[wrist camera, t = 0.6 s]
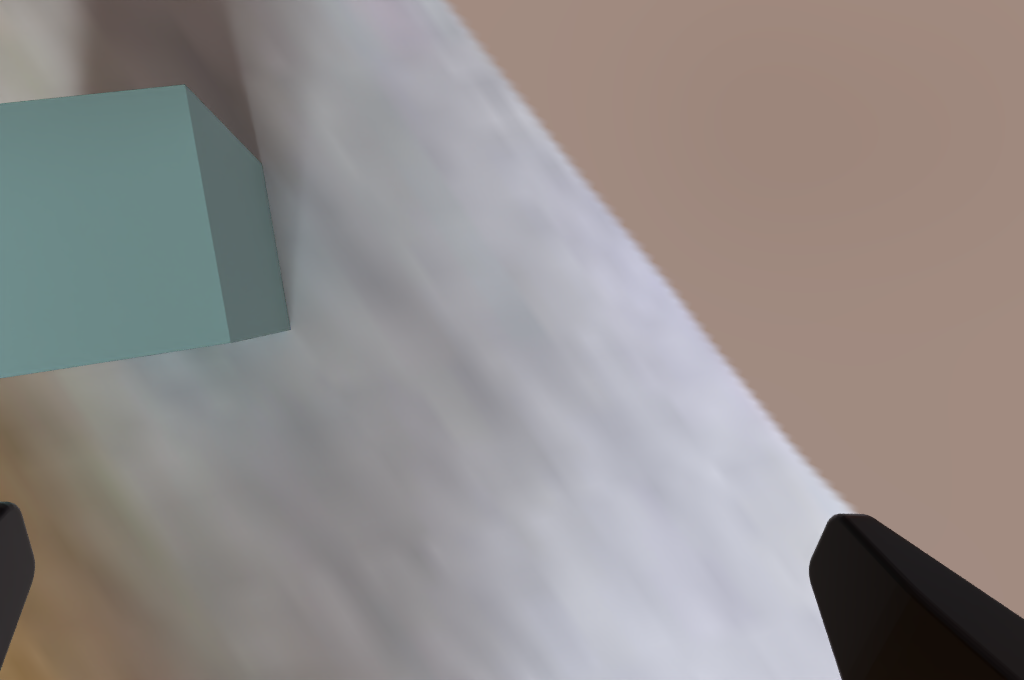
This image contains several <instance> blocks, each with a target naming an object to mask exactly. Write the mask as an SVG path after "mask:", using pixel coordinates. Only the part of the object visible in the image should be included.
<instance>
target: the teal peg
mask: <svg viewBox="0 0 1024 680" xmlns="http://www.w3.org/2000/svg"><path fill="white" fill-rule="evenodd" d="M287 330H290V324H289V319H288V313H287V307H286V301H285V295H284V289H283V284H282V278H281V272H280V266H279V260H278V255H277V249H276V243H275V237H274V231H273V226H272V220H271V214H270V208H269V202H268V197H267V191H266V185H265V179H264V173H263V168H262V164H261V163H260V162H259V161H258V160H257V159H256V157H255V156H254V155H253V154H252V153H251V152H250V151H249V150H248V149H247V148H246V147H245V146H244V145H243V144H242V143H241V142H240V141H239V140H238V139H237V138H236V137H235V136H234V135H233V134H232V133H231V132H230V131H229V130H228V129H227V128H226V127H225V125H224V124H223V123H222V122H221V121H220V120H219V119H218V118H217V117H216V116H215V115H214V114H213V113H212V112H211V111H210V110H209V109H208V108H207V107H206V106H205V105H204V104H203V103H202V102H201V101H200V100H199V99H198V98H197V97H196V96H195V94H194V93H193V92H192V91H191V90H190V89H189V88H188V87H187V86H186V85H185V84H184V85H174V86H165V87H155V88H146V89H136V90H126V91H117V92H107V93H98V94H88V95H78V96H69V97H59V98H50V99H40V100H30V101H21V102H11V103H2V104H0V378H6V377H12V376H19V375H25V374H32V373H38V372H45V371H51V370H58V369H64V368H71V367H77V366H84V365H90V364H97V363H103V362H110V361H116V360H123V359H129V358H136V357H142V356H149V355H155V354H162V353H168V352H175V351H181V350H188V349H194V348H201V347H207V346H214V345H220V344H227V343H233V342H237V341H242V340H246V339H251V338H255V337H260V336H264V335H269V334H273V333H278V332H282V331H287Z"/></svg>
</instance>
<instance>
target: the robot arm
mask: <svg viewBox="0 0 1024 680" xmlns="http://www.w3.org/2000/svg"><path fill="white" fill-rule="evenodd" d="M34 571H35V560H34V555H33V551H32V548H31V544H30V541H29V537H28V534H27V530H26V527H25V523H24V520H23V516H22V513H21V511H20V509H19V508H18V507H17V505H15V504H14V503H10V502H0V670H1V667H2V665H3V662H4V659H5V656H6V653H7V651H8V648H9V645H10V642H11V640H12V637H13V634H14V631H15V629H16V626H17V623H18V620H19V617H20V615H21V612H22V609H23V606H24V604H25V601H26V598H27V595H28V593H29V590H30V587H31V584H32V581H33V577H34ZM809 577H810V582H811V586H812V589H813V592H814V595H815V598H816V601H817V604H818V607H819V611H820V614H821V617H822V620H823V623H824V626H825V629H826V632H827V635H828V638H829V642H830V645H831V648H832V651H833V654H834V657H835V660H836V663H837V666H838V669H839V673H840V676H841V679H842V680H1024V619H1023V618H1021V617H1019V616H1018V615H1017V614H1015V613H1014V612H1012V611H1011V610H1009V609H1008V608H1007V607H1005V606H1004V605H1002V604H1001V603H999V602H998V601H996V600H995V599H993V598H991V597H990V596H989V595H987V594H986V593H984V592H983V591H981V590H980V589H978V588H977V587H975V586H974V585H972V584H971V583H969V582H968V581H966V580H965V579H964V578H962V577H961V576H959V575H958V574H956V573H954V572H953V571H952V570H950V569H949V568H947V567H946V566H944V565H943V564H941V563H940V562H938V561H936V560H935V559H934V558H932V557H931V556H929V555H928V554H926V553H925V552H923V551H922V550H920V549H919V548H917V547H916V546H915V545H913V544H911V543H910V542H909V541H907V540H906V539H904V538H903V537H901V536H900V535H898V534H897V533H895V532H894V531H892V530H891V529H889V528H887V527H886V526H884V525H883V524H882V523H880V522H879V521H877V520H876V519H874V518H873V517H871V516H868V515H865V514H836V515H834V516H833V517H832V518H830V519H829V521H828V522H827V525H826V527H825V529H824V531H823V533H822V536H821V538H820V540H819V542H818V544H817V547H816V549H815V551H814V553H813V555H812V558H811V560H810V565H809Z"/></svg>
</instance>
